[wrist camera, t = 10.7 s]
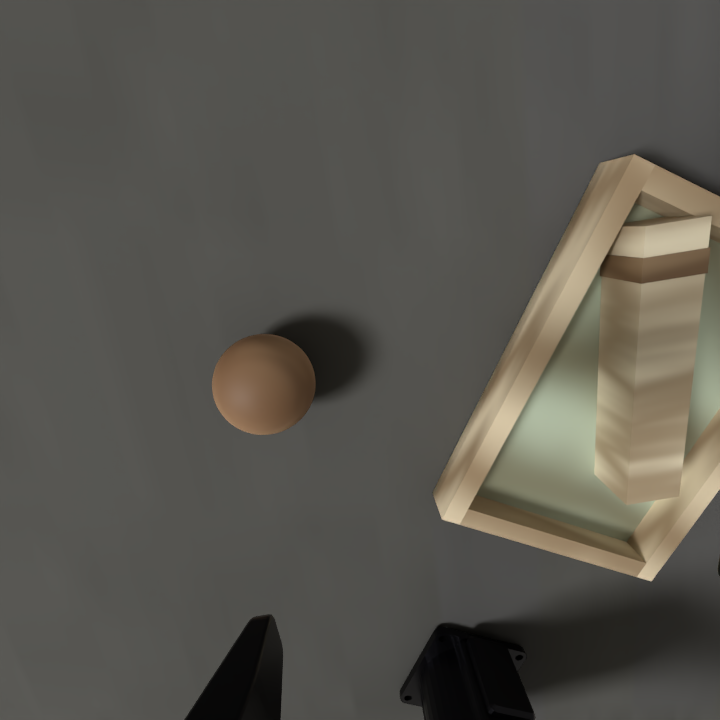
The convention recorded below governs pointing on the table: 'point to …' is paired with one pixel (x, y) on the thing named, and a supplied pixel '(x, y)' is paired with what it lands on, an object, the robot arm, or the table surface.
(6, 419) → the table surface
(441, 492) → the tray
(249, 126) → the table surface
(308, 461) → the table surface
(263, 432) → the bead
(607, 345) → the tall beige post
